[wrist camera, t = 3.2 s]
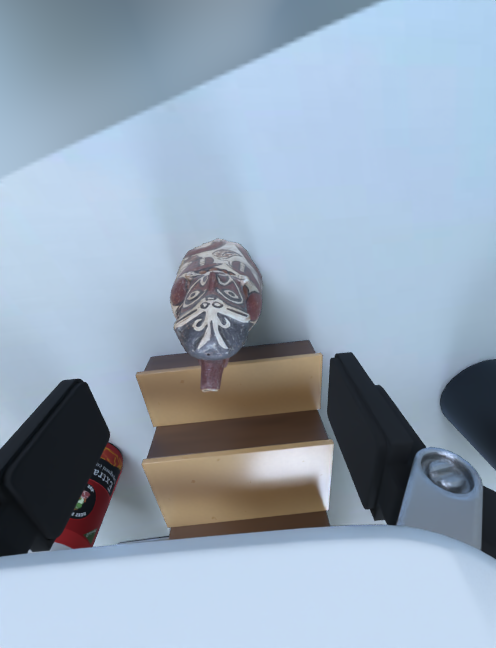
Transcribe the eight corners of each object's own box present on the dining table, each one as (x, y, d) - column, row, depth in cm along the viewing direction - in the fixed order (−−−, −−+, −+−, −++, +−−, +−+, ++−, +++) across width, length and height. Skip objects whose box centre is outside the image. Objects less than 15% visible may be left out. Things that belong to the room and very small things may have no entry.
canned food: (137, 454, 33) (97, 565, 23) (103, 486, 36) (54, 599, 26) (78, 425, 31) (6, 537, 21) (46, 461, 33) (-33, 577, 23)
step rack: (146, 353, 27) (93, 455, 17) (312, 336, 27) (361, 427, 17) (189, 492, 37) (173, 608, 27) (309, 479, 37) (338, 589, 27)
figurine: (269, 249, 23) (302, 303, 12) (250, 323, 26) (263, 418, 15) (184, 230, 22) (138, 271, 11) (175, 309, 25) (132, 401, 14)
